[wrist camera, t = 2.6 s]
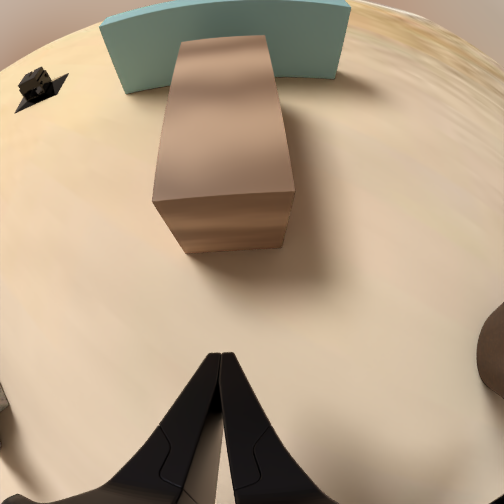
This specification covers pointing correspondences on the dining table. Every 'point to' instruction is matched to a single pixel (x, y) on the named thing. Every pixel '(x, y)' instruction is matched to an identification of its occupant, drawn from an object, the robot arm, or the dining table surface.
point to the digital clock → (2, 402)
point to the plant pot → (492, 351)
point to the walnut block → (224, 149)
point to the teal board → (226, 25)
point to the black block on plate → (38, 87)
